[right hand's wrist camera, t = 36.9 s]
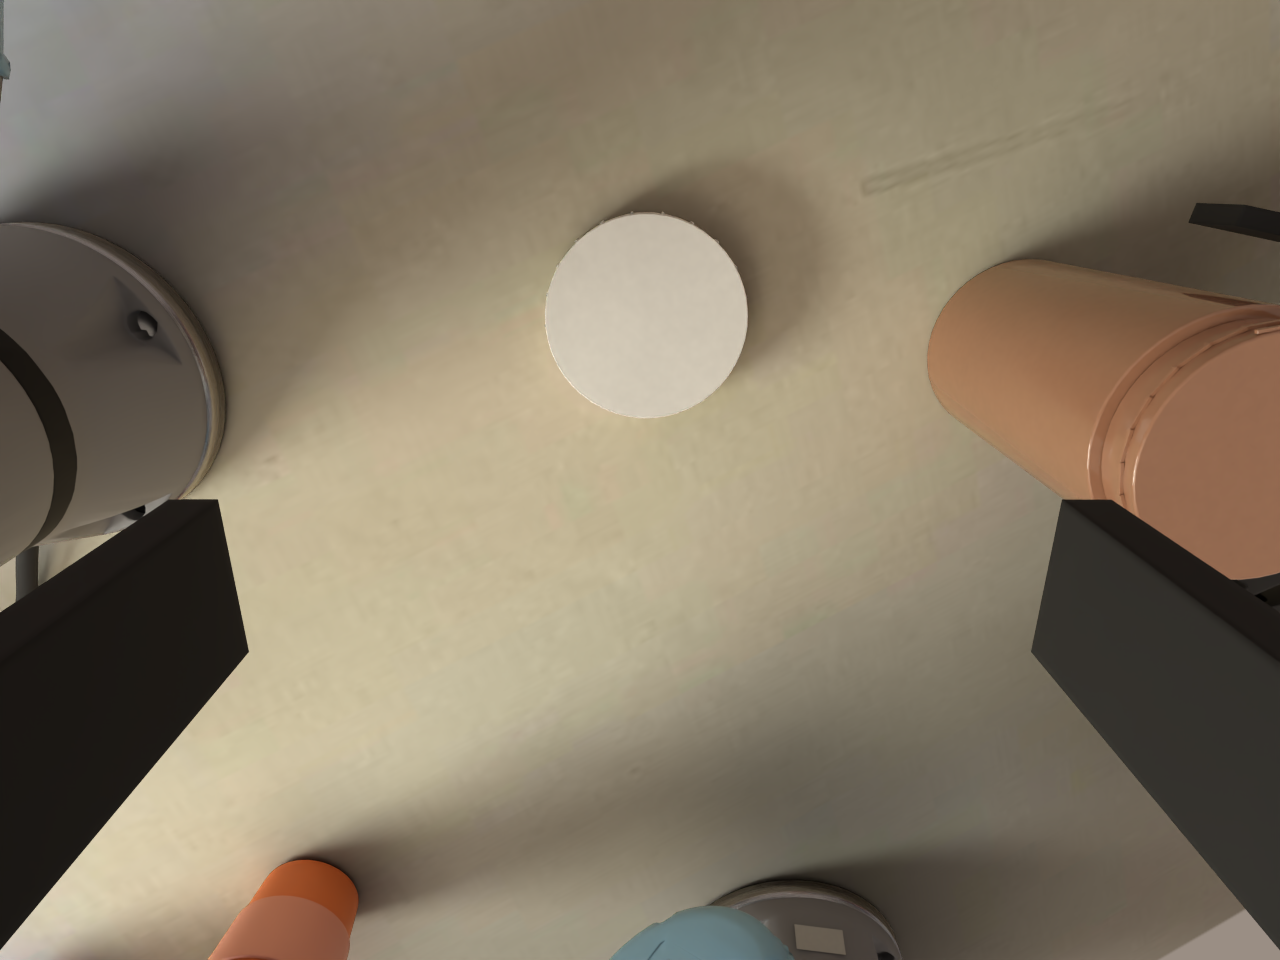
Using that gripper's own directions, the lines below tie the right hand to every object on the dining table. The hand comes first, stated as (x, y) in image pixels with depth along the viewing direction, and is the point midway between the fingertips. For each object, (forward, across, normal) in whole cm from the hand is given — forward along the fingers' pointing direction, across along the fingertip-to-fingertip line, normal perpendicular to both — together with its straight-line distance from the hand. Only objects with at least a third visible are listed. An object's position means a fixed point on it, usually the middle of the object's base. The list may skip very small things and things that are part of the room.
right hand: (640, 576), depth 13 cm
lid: (+26, 0, 0) cm, 26 cm away
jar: (+28, +19, -2) cm, 33 cm away
